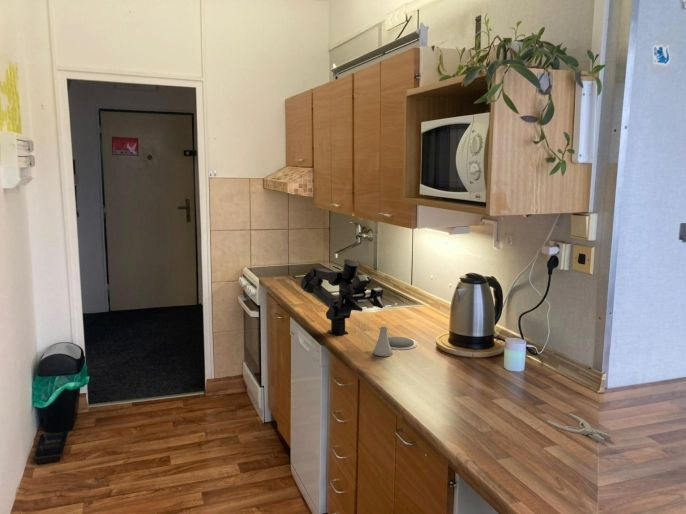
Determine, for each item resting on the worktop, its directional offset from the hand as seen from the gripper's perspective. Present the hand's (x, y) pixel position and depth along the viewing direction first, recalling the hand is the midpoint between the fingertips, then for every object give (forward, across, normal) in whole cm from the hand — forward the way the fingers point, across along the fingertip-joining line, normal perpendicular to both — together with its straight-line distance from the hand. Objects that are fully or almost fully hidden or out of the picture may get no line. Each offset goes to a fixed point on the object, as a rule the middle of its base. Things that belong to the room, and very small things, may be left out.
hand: (372, 308), depth 208 cm
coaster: (+3, +14, +16) cm, 21 cm away
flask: (+10, +1, +14) cm, 17 cm away
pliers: (+82, +13, -7) cm, 83 cm away
